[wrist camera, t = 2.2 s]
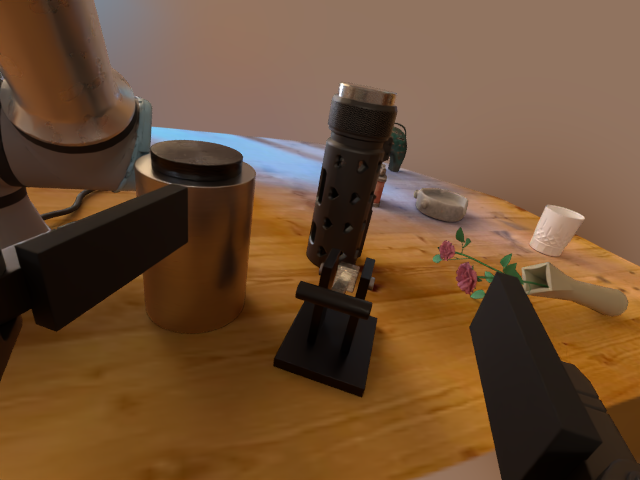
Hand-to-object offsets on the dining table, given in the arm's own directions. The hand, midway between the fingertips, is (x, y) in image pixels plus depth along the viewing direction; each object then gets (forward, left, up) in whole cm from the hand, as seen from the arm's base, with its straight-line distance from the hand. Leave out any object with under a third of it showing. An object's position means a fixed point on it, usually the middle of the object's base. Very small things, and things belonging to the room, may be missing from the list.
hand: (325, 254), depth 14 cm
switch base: (-18, +6, -23) cm, 30 cm away
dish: (-69, +42, -23) cm, 84 cm away
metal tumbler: (-24, -10, -23) cm, 35 cm away
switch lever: (-14, +5, -12) cm, 19 cm away
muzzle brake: (-39, +10, -23) cm, 46 cm away
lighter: (-71, +24, -23) cm, 78 cm away
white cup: (-53, +63, -23) cm, 86 cm away
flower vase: (-29, +40, -23) cm, 55 cm away
